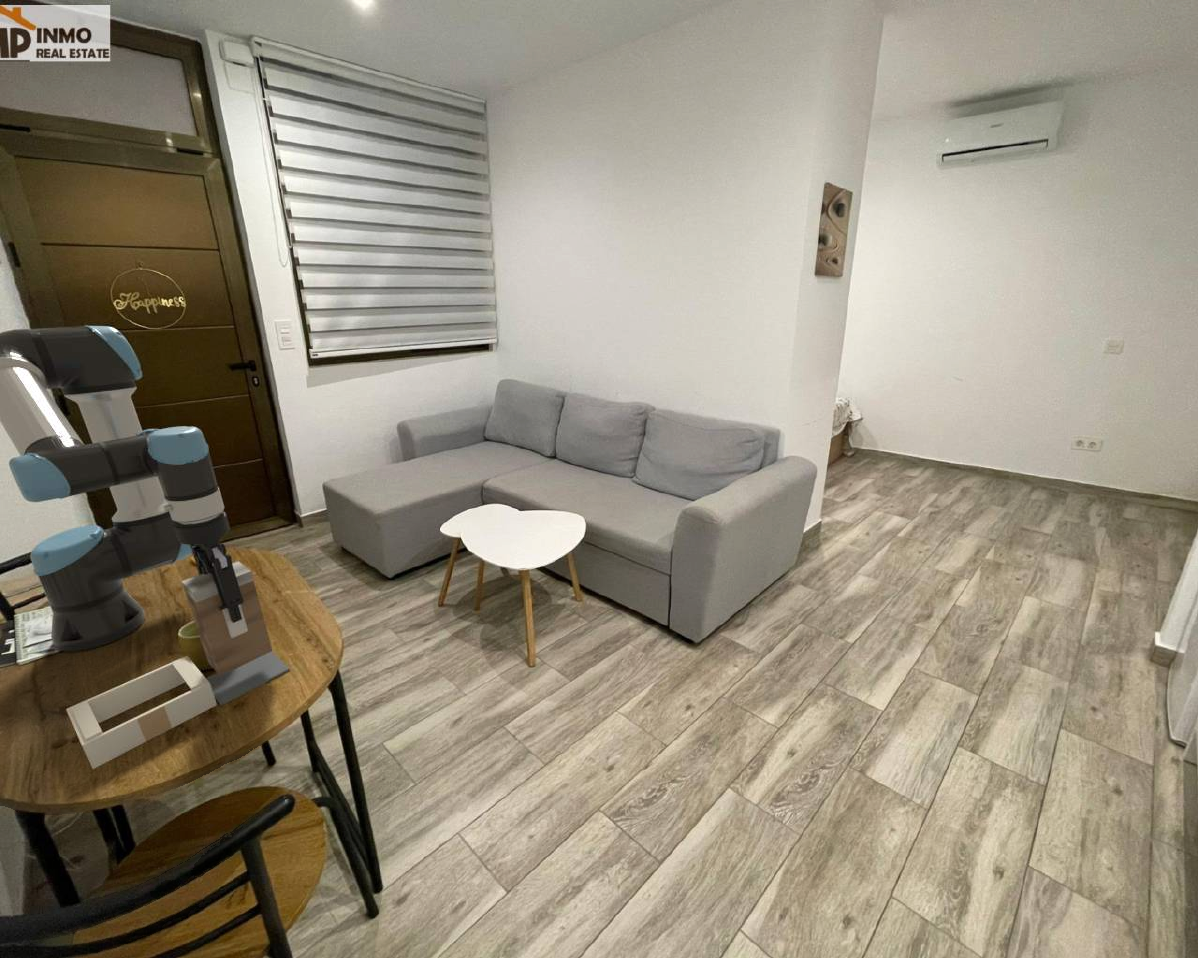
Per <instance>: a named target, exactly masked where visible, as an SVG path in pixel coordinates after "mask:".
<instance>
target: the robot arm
mask: <svg viewBox="0 0 1198 958" xmlns="http://www.w3.org/2000/svg"><path fill="white" fill-rule="evenodd" d="M142 377H143V372H142V369H141V364H140V361H139V359H138V356H137V354H136V353H135V350H134V349H133V348H132V346H131V344H130V343H129V342H128V339H127V338H126V337H125V336H124V335H123V334H122V333H121V332H120V331H119V330H118V329H116V328H115V327H112V326H106V325H84V326H82V325H81V326H80V325H79V326H63V327H47V328H46V327H45V328H27V329H26V328H18V329H11V330H8V331H7V330H6V331H2V332H0V423H1V425H2V426H3V428H4V430H5V432H6V433H7V435H8V437H9V438H10V441H11V442H12V444H13V445H14V448H15V449H16V450H17V452H18V454H19V456H16V457H13V458H11V459H10V460H9V461H8V465H9V468H10V472H11V474H12V476H13V479H14V481H15V483H16V485H17V487H18V489H19V492H20V494H21V495H22V497H23V499H24V500H25V501H28V502H29V503H39V502H40V503H41V502H47V501H51V500H58V499H60V500H62V499H66V498H68V497H72V496H77V495H80V494H85V493H89V492H93V491H97V490H102V489H105V488H106V489H107V488H109V490H110V492H111V496H112V498H113V501H114V504H115V506H116V509H117V510H116V512H115V513H114V514H113V516H112V517H111V521H112V524H113V527H110V528H107V529H103V527H101V526H99V525H97V524H96V525H95V524H91V525H90V524H89V525H85V526H77V527H73V528H70V529H67V530H64V531H61V532H59V533H56V534H54V535H51V536H49V537H47V538H46V539H44V540H42V541H41V542H39V543H38V544H36V545H35V546H34V548H33V549H32V550H31V552H30V555H29V556H30V561H31V564H32V566H33V573H34V575H35V576H37V577H38V579H39V582H40V584H41V587H42V590H43V592H44V594H45V597H46V599H47V601H48V604H49V606H50V608H51V611H52V621H51V622H52V623H51V642H52V643H53V645H54V648H55V647H56V648H57V649H56V648H55V649H56V650H58V651H60V652H66V653H71V652H72V653H74V652H83V651H87V650H88V651H89V650H91V649H95V648H99V647H101V646H106V645H107V644H110V643H112V642H116V641H117V640H120V639H122V638H123V637H126V636H128V635H129V634H131V633H132V632H134V631H135V630H137V629H138V628H139V627H140V626H142V624H143V623H144V621H145V619H146V614H145V612H144V608H143V607H142V606H141V605H140V603H139V602H138V601H137V600H135V598H134V597H132V595H131V594H130V593H129V592H128V591H126V589H125V587H124V585H123V583H122V581H123V580H124V579H127V578H131V577H134V576H137V575H140V574H143V573H145V572H149V571H153V570H155V569H158V568H162V567H164V566H167V565H173V564H175V563H177V562H179V561H181V560H184V559H187V558H189V557H191V556H192V557H193V559H194V562H195V566H196V569H197V573H198V575H201V574H208V573H210V574H211V576H212V578H213V581H214V583H215V584H216V587H217V591H218V594H219V596H220V599H221V602H222V604H223V605H222V606H220V607H218V608H219V610H220V611H221V610H222V611H223V614H224V618H225V621H226V624H227V628H228V631H229V634H230V637H231V638H234V637H236V636H238V635H240V634H243V633H245V632H247V631H248V629H247V625H246V622H245V618H244V615H243V611H242V608H241V604H242V603H244V600H243V598H242V595H241V591H240V588H239V585H238V582H237V578H236V575H235V572H234V569H233V564H232V563H233V558H232V555H230V554H227V549H226V546H225V544H224V543H221V542H220V539H221V538H223V537H224V536H226V535H227V534H228V533H229V532H230V524H229V521H228V516H227V513H226V512H225V511H224V509H225V505H224V501H223V498H222V494H221V491H220V487H219V485H218V482H217V478H216V474H215V470H214V466H213V462H212V459H211V455H210V452H209V451H210V450H209V444H208V443H207V442H206V439H205V436H204V432H202V430H201V429H200V428H198V427H196V426H185V425H183V426H179V425H178V426H171V427H167V428H161V429H160V428H147V429H144V430H143V429H142V425H141V423H140V420H139V418H138V413H137V412H136V409H135V405H134V403H133V400H132V395H133V394H134V393H135V392H136V390H137V387H138V386H137V385H136V382H135V381H138V380H140V379H141V378H142ZM47 389H48V390H50V389H51V390H52V389H61V391H62V394H63V396H64V397H65V398H67V399H69V400H71V401H72V402H75V403H76V404H77V405H78V407H79V410H80V413H81V416H82V418H83V421H84V423H85V426H86V428H87V431H88V434H89V437H90V439H91V440H90V441H91V442H92V443H88V444H85V443H84V442H83V441H82V439H81V437H80V436H79V434H77V432H76V431H75V430H74V428H73V426H72V425H71V424H70V422H69V420H68V419H67V417H66V416H65V414H64V413H63V411H61V408H60V407H59V406H58V404H57V403H56V402H55V400H54V399H53V398H52V396H51V394H50V393H49V392H48V390H47Z"/></svg>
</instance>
